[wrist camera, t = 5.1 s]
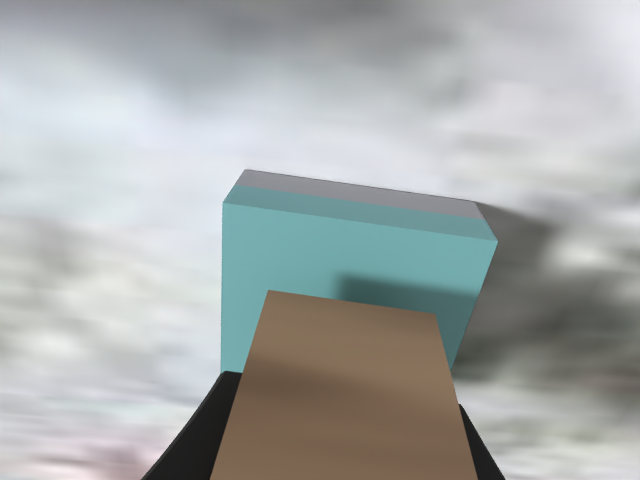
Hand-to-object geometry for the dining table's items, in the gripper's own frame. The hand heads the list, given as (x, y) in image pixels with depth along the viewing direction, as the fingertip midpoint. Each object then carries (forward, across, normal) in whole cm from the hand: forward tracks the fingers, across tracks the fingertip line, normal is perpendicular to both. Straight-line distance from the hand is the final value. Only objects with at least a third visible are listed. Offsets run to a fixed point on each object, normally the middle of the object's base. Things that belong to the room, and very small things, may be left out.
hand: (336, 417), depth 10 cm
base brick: (+6, 0, 0) cm, 6 cm away
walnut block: (+2, 0, 0) cm, 2 cm away
